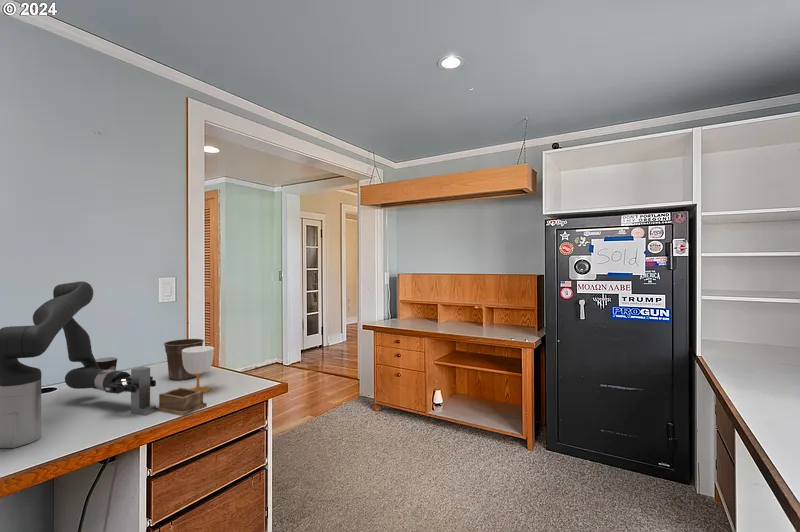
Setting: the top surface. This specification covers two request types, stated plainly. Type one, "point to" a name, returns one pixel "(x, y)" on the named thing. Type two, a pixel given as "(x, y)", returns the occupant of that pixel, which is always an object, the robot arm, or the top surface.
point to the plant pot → (179, 357)
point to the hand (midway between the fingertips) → (145, 386)
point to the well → (180, 401)
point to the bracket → (141, 391)
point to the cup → (198, 362)
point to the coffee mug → (107, 363)
